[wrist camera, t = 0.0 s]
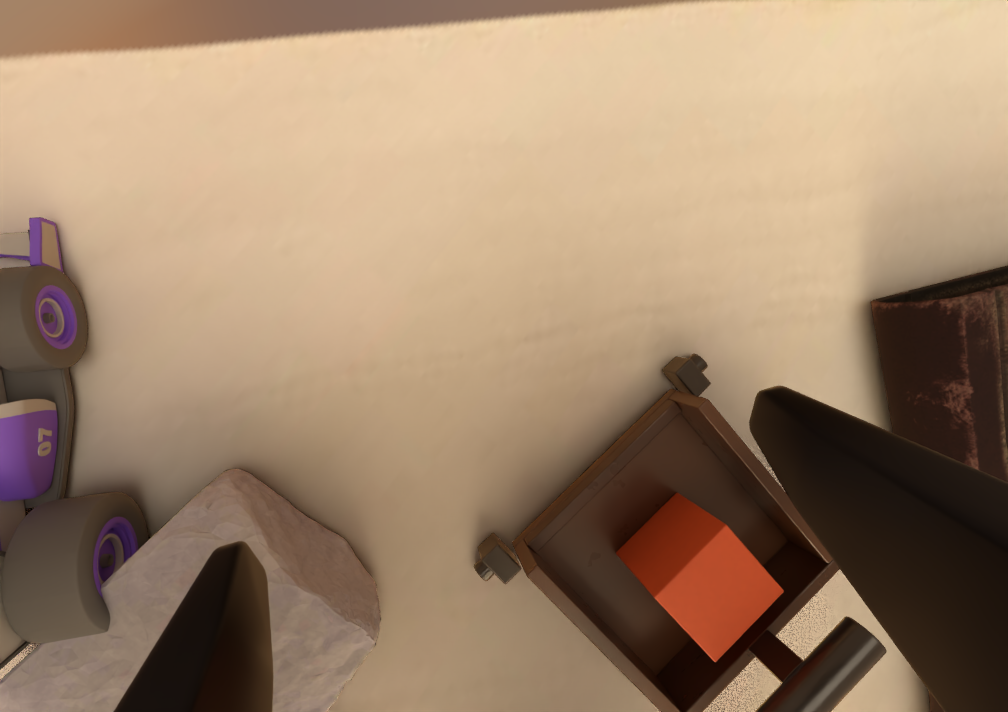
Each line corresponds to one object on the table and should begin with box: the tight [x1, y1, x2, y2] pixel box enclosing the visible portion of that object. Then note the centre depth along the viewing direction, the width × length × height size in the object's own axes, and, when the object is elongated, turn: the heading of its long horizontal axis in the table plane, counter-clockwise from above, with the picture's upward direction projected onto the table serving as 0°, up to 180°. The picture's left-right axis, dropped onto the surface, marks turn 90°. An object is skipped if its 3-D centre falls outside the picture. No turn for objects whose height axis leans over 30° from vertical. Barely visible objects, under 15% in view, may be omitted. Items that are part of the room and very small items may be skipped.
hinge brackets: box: [474, 354, 711, 584], centre depth 25 cm, size 2×14×1 cm, turn 132°
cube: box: [616, 493, 784, 662], centre depth 23 cm, size 4×4×4 cm
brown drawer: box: [512, 389, 886, 712], centre depth 22 cm, size 11×10×7 cm
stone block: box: [0, 469, 381, 712], centre depth 21 cm, size 12×5×10 cm
